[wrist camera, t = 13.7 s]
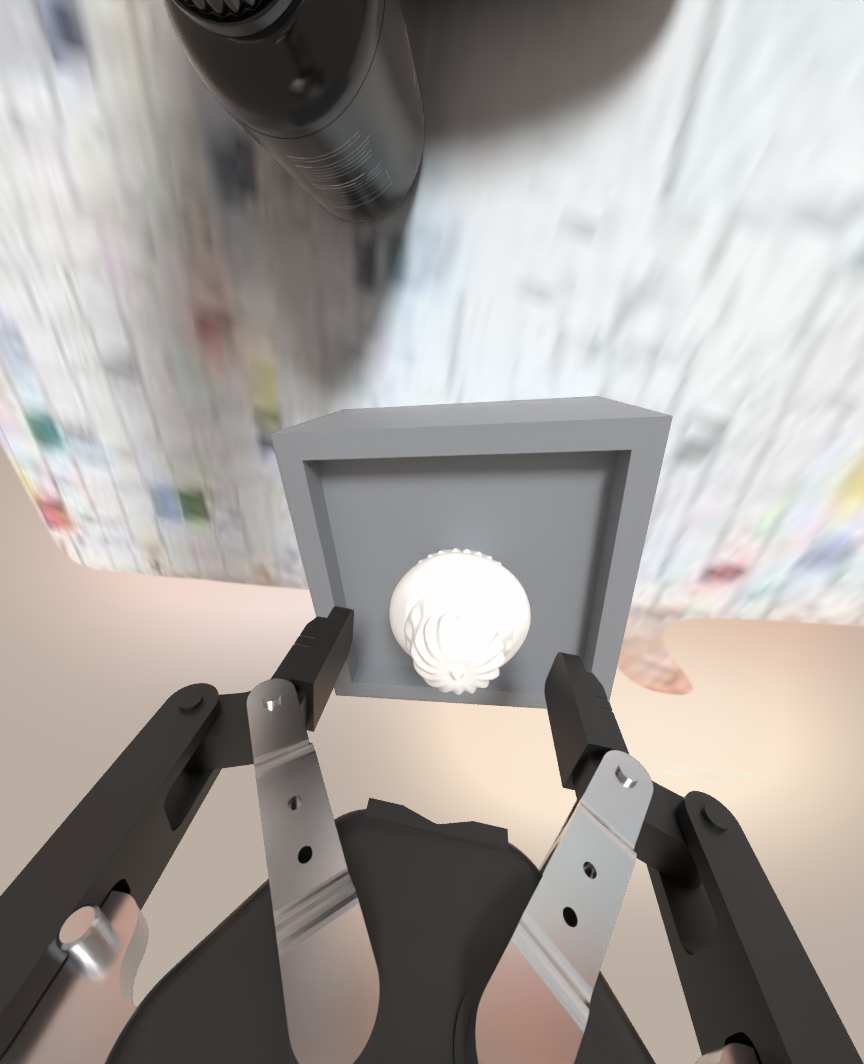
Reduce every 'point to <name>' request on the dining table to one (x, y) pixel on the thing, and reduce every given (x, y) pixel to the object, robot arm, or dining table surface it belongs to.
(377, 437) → the grey square open box
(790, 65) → the dining table surface
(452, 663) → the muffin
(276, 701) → the robot arm
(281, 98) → the supplement bottle
